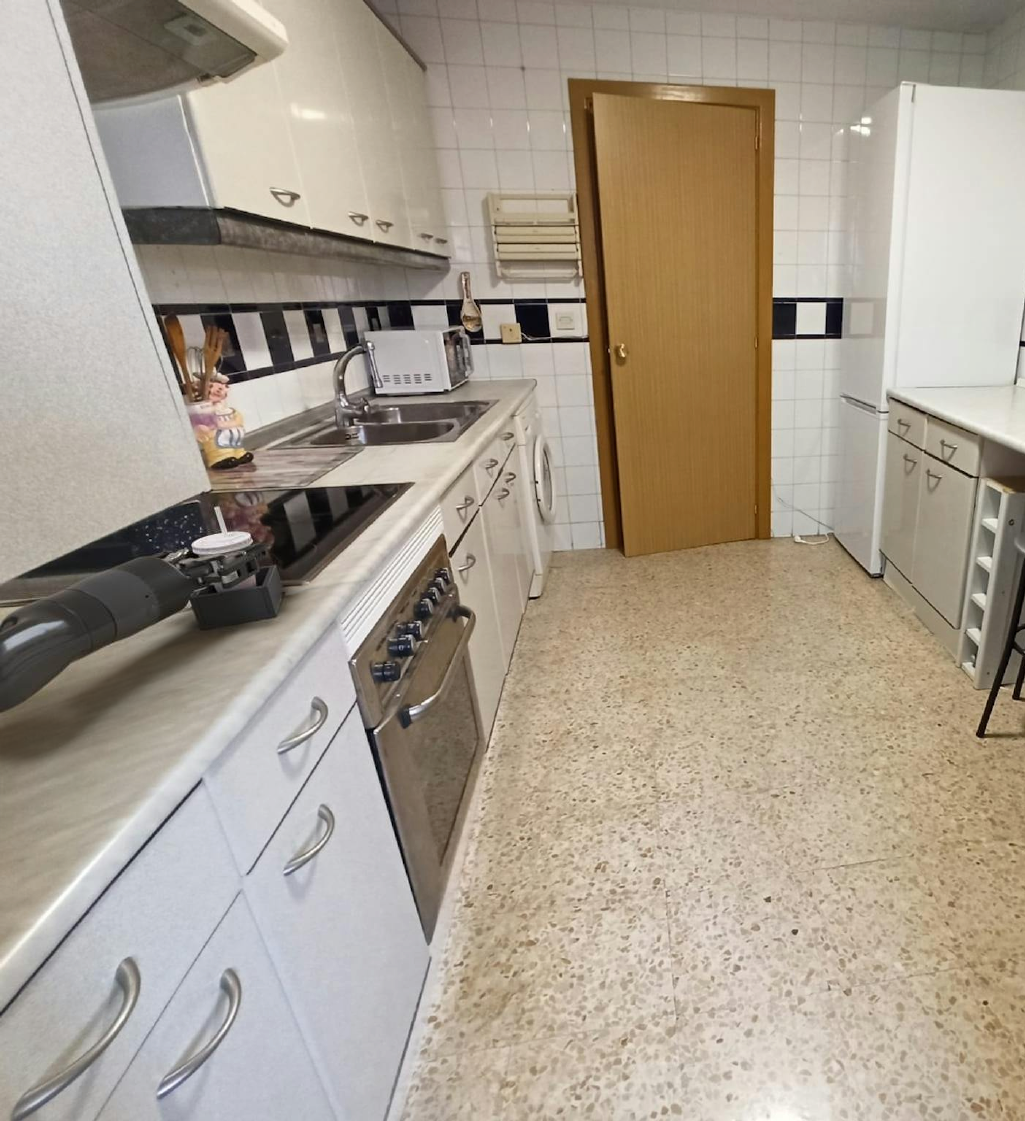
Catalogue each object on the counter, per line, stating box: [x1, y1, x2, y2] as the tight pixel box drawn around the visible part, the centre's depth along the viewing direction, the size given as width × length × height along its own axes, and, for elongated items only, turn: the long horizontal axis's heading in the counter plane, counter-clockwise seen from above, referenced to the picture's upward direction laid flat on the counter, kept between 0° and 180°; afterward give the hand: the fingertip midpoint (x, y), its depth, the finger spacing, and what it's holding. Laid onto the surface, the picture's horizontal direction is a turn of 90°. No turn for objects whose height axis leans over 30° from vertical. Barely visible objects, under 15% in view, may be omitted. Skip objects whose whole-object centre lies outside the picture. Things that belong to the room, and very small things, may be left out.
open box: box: [189, 564, 285, 631], centre depth 89 cm, size 8×8×5 cm
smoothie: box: [191, 506, 257, 593], centre depth 87 cm, size 6×6×14 cm
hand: (240, 548), depth 89 cm, fingers closed on smoothie, 6 cm apart
